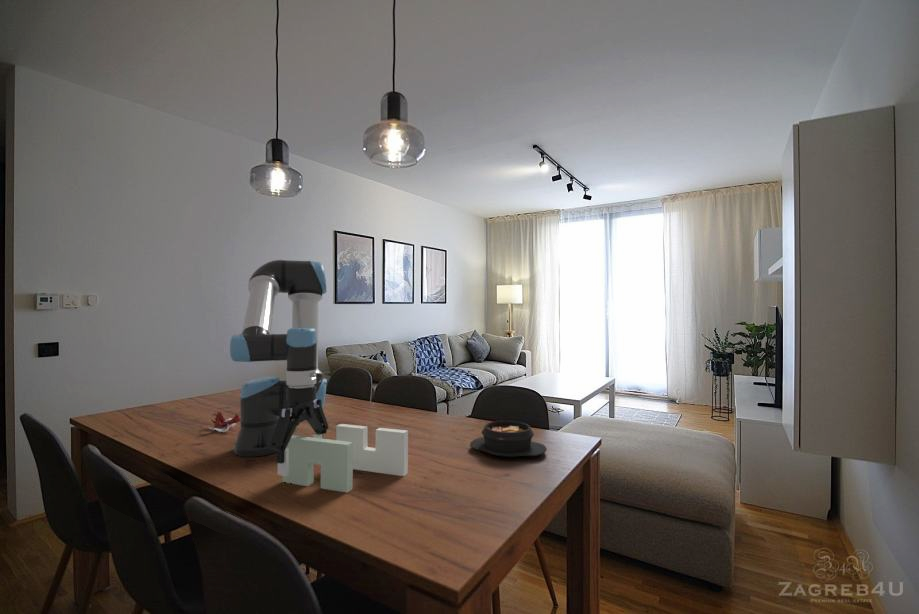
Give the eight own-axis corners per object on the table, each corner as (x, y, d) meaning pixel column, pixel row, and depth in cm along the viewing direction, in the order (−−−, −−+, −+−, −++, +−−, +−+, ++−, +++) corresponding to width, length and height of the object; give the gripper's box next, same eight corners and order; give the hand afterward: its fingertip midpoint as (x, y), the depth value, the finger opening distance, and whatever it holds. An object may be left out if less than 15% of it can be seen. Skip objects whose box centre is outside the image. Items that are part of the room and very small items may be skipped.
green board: (282, 482, 112) (282, 437, 112) (289, 478, 114) (289, 434, 115) (347, 492, 106) (347, 445, 106) (352, 488, 108) (352, 442, 108)
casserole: (461, 456, 132) (461, 429, 133) (479, 439, 150) (479, 415, 150) (541, 467, 124) (541, 438, 124) (550, 447, 141) (550, 422, 141)
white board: (336, 466, 123) (336, 425, 123) (341, 463, 126) (341, 423, 126) (404, 476, 116) (404, 432, 116) (407, 473, 119) (407, 430, 119)
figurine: (196, 431, 159) (196, 414, 159) (225, 424, 169) (225, 407, 169) (221, 437, 152) (221, 418, 152) (250, 429, 162) (250, 411, 162)
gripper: (279, 395, 99) (278, 485, 99) (341, 379, 123) (340, 452, 122) (254, 393, 101) (253, 481, 101) (319, 378, 125) (319, 449, 125)
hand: (301, 465), depth 112 cm, fingers open, 13 cm apart
